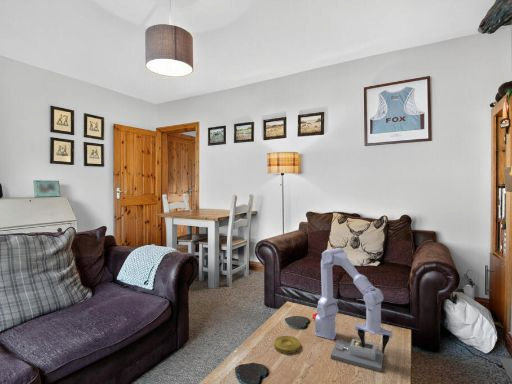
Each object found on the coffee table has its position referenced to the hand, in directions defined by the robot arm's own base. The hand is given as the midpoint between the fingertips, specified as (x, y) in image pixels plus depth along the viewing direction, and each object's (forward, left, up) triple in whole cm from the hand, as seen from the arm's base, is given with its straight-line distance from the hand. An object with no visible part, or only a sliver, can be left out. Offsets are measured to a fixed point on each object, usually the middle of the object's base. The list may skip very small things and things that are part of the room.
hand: (373, 349), depth 122 cm
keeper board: (-6, 0, -4) cm, 8 cm away
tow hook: (-30, +28, -5) cm, 42 cm away
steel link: (-4, 0, -3) cm, 5 cm away
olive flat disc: (-36, -7, -5) cm, 37 cm away
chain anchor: (-13, 0, -3) cm, 13 cm away
